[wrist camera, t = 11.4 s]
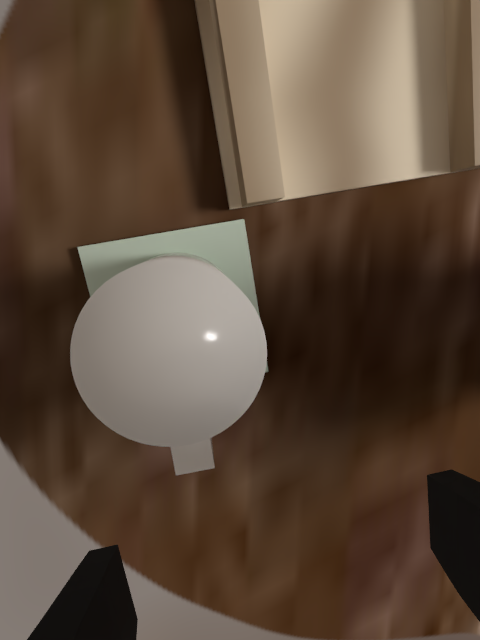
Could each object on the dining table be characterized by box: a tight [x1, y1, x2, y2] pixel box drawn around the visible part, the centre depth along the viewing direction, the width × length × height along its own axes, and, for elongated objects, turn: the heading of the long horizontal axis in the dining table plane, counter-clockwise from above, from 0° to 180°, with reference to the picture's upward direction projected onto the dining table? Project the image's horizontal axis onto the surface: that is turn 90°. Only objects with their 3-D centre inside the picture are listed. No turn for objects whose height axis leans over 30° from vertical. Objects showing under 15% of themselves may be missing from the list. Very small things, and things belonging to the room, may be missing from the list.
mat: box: [77, 219, 268, 372], centre depth 17 cm, size 7×7×1 cm
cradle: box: [194, 0, 480, 210], centre depth 15 cm, size 12×10×2 cm
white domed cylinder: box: [70, 252, 267, 475], centre depth 13 cm, size 5×6×7 cm
